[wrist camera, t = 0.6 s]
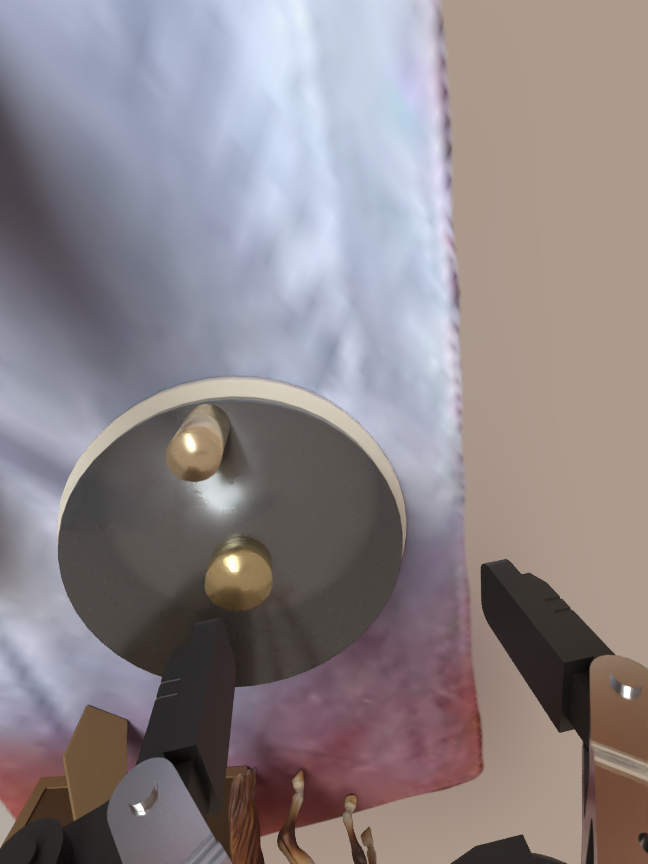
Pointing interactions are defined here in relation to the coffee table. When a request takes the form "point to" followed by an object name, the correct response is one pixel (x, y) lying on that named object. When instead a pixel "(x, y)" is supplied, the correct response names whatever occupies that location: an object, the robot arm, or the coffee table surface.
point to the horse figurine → (247, 828)
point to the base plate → (239, 388)
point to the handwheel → (231, 537)
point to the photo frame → (99, 777)
